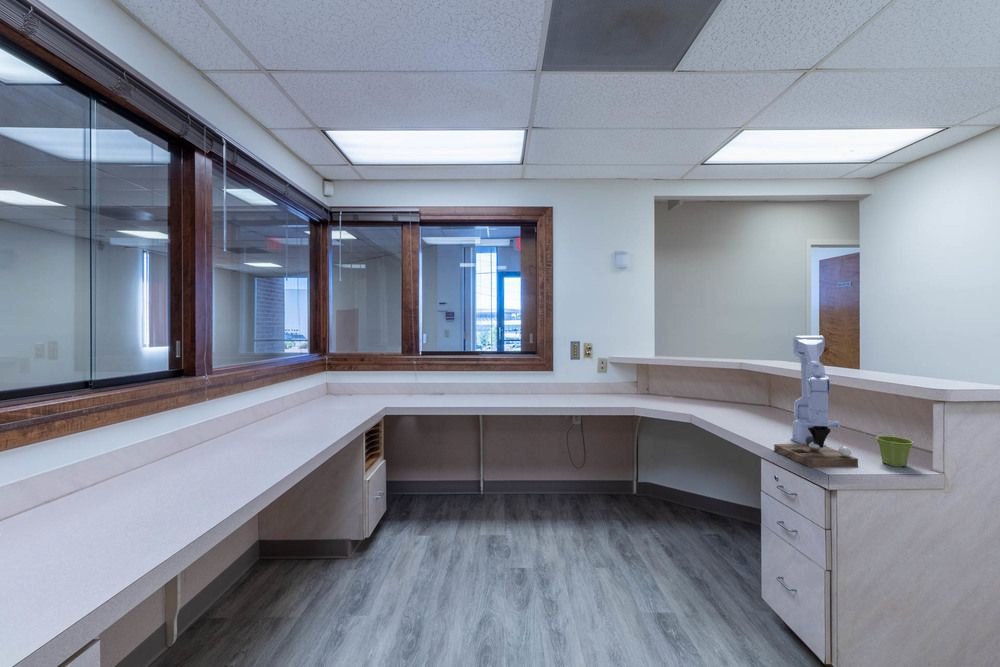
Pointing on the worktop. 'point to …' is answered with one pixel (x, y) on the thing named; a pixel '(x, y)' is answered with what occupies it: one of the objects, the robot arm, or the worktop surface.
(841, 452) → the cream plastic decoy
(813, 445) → the steel ball
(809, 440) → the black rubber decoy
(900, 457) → the plant pot
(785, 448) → the board
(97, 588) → the worktop surface
